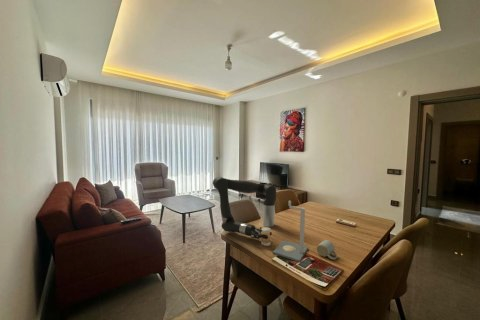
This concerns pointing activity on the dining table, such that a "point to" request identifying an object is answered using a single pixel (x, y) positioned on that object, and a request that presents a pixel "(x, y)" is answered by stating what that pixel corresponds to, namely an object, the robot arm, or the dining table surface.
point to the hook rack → (293, 249)
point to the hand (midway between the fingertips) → (269, 235)
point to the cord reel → (267, 232)
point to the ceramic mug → (326, 249)
